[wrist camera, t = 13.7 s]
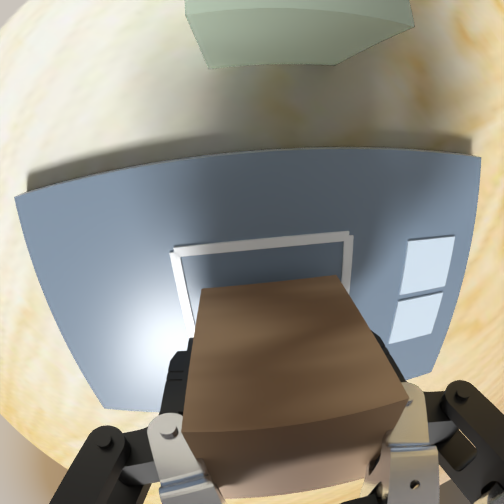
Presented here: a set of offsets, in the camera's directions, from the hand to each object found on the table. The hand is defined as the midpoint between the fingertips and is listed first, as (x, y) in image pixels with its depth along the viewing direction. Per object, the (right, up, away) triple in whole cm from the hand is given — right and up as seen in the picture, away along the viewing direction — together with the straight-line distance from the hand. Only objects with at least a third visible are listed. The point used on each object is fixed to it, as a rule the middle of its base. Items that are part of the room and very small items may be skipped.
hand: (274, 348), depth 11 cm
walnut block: (0, 0, +1) cm, 1 cm away
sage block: (0, +13, -2) cm, 13 cm away
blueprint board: (0, +1, +3) cm, 3 cm away
